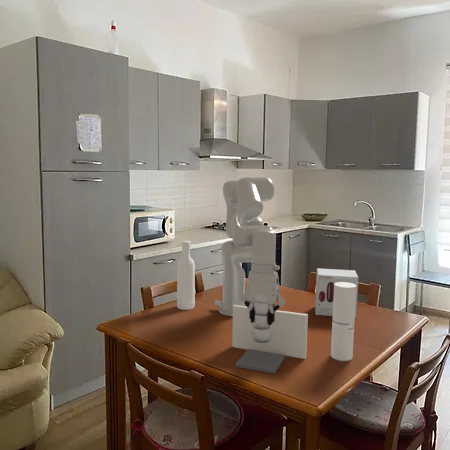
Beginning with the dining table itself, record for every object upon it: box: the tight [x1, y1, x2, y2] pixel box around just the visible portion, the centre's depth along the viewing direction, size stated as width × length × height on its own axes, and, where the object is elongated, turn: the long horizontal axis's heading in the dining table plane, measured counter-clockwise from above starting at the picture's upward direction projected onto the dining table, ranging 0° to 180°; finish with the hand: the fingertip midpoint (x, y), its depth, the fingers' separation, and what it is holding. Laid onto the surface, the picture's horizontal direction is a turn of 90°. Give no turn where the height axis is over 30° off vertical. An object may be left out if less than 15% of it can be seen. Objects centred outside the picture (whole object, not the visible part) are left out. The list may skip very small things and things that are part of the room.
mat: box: [234, 349, 286, 374], centre depth 155 cm, size 13×13×1 cm
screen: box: [231, 305, 309, 360], centre depth 162 cm, size 26×2×15 cm, turn 69°
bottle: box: [176, 240, 196, 311], centre depth 210 cm, size 8×8×30 cm
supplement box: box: [314, 267, 359, 319], centre depth 207 cm, size 17×13×18 cm
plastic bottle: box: [252, 294, 272, 343], centre depth 152 cm, size 6×7×20 cm
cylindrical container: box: [330, 282, 356, 362], centre depth 158 cm, size 7×7×25 cm
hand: (261, 322), depth 153 cm, fingers closed on plastic bottle, 5 cm apart
